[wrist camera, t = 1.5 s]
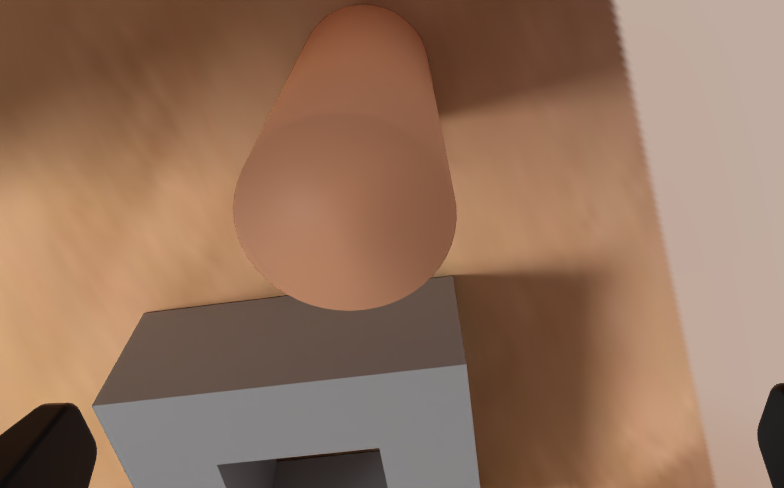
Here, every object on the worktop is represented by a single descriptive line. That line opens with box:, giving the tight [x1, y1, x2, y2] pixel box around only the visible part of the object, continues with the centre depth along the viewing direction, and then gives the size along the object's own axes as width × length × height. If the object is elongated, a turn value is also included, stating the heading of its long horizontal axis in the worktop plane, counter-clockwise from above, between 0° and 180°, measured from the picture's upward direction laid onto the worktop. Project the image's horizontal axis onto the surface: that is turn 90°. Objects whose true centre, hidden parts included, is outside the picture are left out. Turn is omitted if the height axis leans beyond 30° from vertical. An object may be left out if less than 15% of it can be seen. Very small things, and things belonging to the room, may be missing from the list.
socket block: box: [92, 276, 480, 488], centre depth 25 cm, size 12×12×5 cm
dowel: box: [233, 5, 457, 311], centre depth 16 cm, size 4×4×10 cm
